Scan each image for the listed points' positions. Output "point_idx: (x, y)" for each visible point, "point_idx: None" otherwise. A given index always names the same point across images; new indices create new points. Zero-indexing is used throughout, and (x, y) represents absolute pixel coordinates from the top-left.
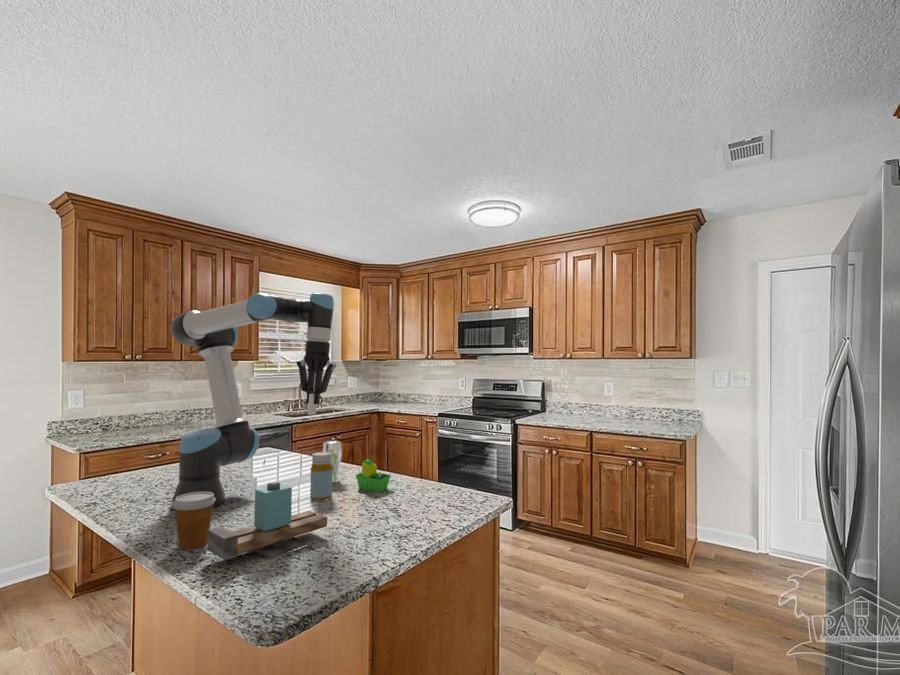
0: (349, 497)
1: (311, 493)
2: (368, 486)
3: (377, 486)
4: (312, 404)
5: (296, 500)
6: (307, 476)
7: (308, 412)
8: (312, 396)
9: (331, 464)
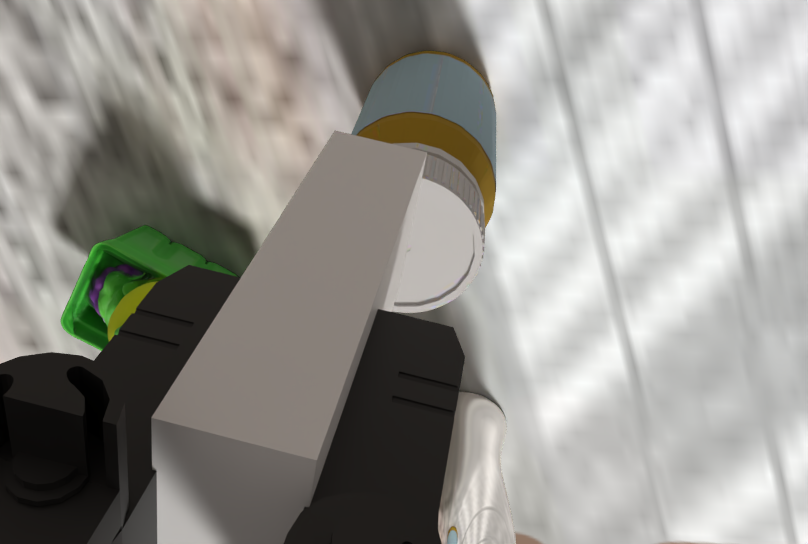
0: (269, 133)
1: (479, 82)
2: (196, 265)
3: (127, 233)
4: (276, 236)
5: (576, 74)
6: (620, 511)
7: (402, 163)
8: (218, 374)
9: (450, 467)
